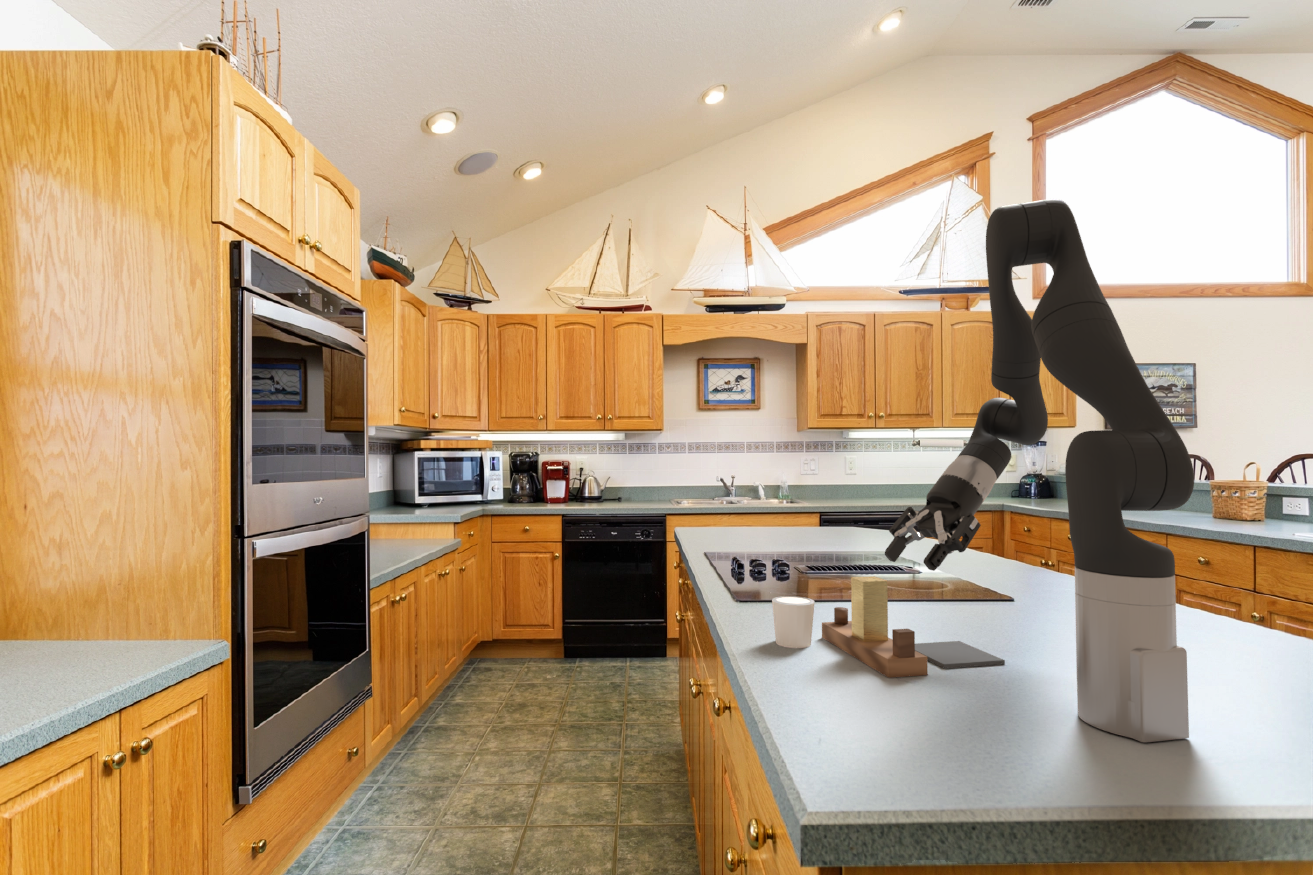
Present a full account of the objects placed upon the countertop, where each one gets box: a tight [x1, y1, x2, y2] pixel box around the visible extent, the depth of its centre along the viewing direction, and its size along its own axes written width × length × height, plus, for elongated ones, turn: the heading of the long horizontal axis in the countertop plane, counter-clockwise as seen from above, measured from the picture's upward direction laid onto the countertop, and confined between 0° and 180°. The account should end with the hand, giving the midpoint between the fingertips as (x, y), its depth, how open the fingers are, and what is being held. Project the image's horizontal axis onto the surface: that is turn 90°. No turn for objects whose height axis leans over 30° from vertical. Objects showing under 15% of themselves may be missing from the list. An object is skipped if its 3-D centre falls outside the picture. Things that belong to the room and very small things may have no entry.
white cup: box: [771, 595, 816, 649], centre depth 103 cm, size 7×7×7 cm
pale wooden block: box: [850, 575, 889, 642], centre depth 97 cm, size 4×4×9 cm
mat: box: [915, 640, 1006, 669], centre depth 96 cm, size 10×10×1 cm
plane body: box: [821, 606, 929, 679], centre depth 97 cm, size 20×6×6 cm, turn 11°
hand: (907, 562), depth 100 cm, fingers open, 8 cm apart
